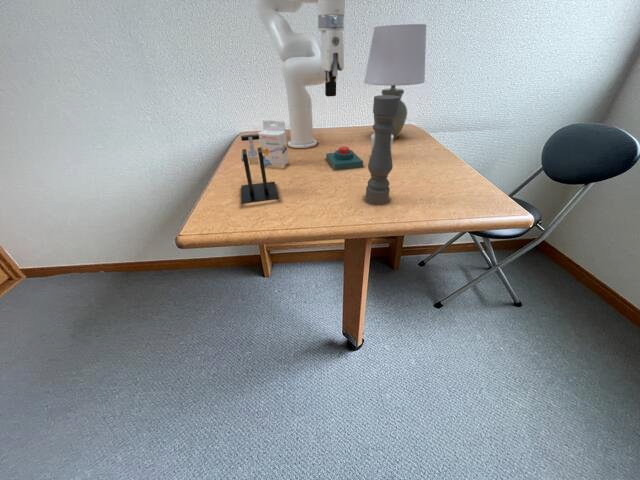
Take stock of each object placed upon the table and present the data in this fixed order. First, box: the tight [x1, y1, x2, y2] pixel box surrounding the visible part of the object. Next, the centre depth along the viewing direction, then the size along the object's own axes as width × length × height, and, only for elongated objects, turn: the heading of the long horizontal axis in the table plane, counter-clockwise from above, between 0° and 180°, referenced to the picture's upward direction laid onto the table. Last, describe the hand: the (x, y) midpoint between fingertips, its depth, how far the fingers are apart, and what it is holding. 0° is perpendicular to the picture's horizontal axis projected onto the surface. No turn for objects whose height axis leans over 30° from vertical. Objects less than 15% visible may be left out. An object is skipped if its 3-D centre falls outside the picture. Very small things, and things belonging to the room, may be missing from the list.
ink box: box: [257, 120, 289, 167], centre depth 95 cm, size 8×5×15 cm, turn 72°
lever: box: [240, 133, 259, 166], centre depth 76 cm, size 12×5×2 cm, turn 13°
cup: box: [370, 133, 394, 154], centre depth 99 cm, size 11×8×8 cm
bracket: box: [240, 147, 280, 205], centre depth 76 cm, size 12×10×13 cm
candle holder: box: [365, 94, 400, 206], centre depth 68 cm, size 6×6×25 cm
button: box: [338, 146, 350, 154], centre depth 96 cm, size 4×4×2 cm
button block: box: [325, 149, 364, 171], centre depth 98 cm, size 12×10×4 cm
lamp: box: [363, 23, 427, 140], centre depth 113 cm, size 24×24×40 cm
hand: (330, 95), depth 89 cm, fingers closed
